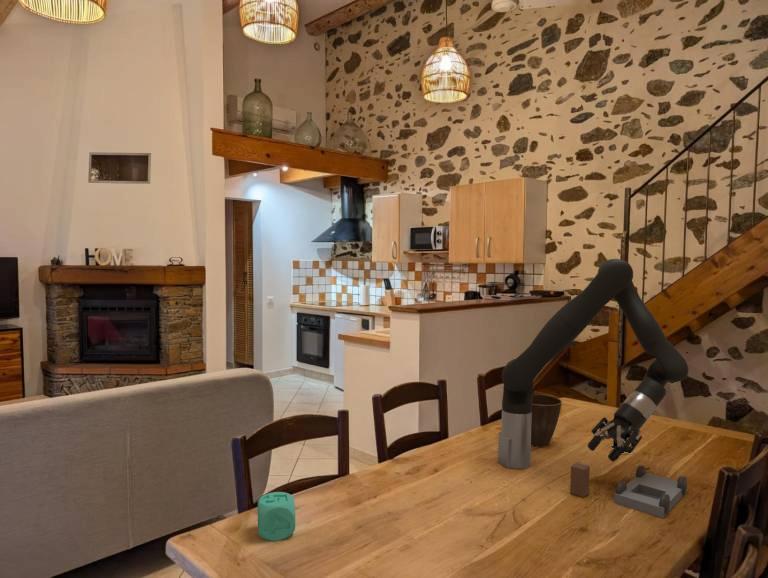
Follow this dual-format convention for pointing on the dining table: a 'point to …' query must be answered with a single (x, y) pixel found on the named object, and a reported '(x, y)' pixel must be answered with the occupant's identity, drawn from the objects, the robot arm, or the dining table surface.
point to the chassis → (650, 492)
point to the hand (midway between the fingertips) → (599, 454)
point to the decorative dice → (276, 516)
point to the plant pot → (544, 419)
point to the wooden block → (579, 479)
